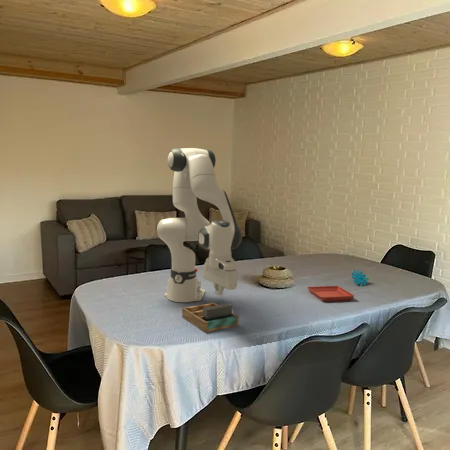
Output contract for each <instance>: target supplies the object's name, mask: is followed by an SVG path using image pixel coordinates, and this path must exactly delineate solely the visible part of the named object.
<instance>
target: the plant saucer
mask: <svg viewBox="0 0 450 450" xmlns="http://www.w3.org/2000/svg"><path fill="white" fill-rule="evenodd" d="M306 288H307V291H308V292H309V293H310V294H311V295H313V296H314V297H316V298H317V299H319V300H320V301H321V302H325V303H326V302H344V301H351V300H352V299H353V298H354V297H355V295H354V294H353V293H351V292H349V291H348V290H346V289H344V288H343V287H341V286H339V285H321V286H306Z"/></svg>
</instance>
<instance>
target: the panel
mask: <svg viewBox="0 0 450 450" xmlns="http://www.w3.org/2000/svg"><path fill="white" fill-rule="evenodd" d="M232 313H233V305H232V304H231V303H225V304H217V306H211V307H205V308H203V320H205V321H211V320H217V319H222V318H227V317H232Z"/></svg>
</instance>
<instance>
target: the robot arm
mask: <svg viewBox="0 0 450 450" xmlns="http://www.w3.org/2000/svg"><path fill="white" fill-rule="evenodd" d="M167 165H168V166H167V167H169V169H170V170H171V171H172V172H173V173H174V174H173V180H172V205H173V206H174V208H176V209H178V210H179V211H181V212H184V215H185V216H184V217H168V218H163V219H160V221H159V222H158V223H157V227H156V234H157V236H158V238H159V239H160V240H161V241H163V242H164V243H165V244H166V246H167V247H168V249H169V251H170V256H171V269H170V278H169V279H167V286H166V292H165V293H164V294H163V296H164V297H166V298H167V300H169V301H171V302H175V303H192V302H199V301H202V299H203V297H204V295H205V293H206V291H205V289H203V288H201V286H202V285H201V280H199V278H198V277H197V273H198V267H196V253H195V252H194V251H193V250H192V249H190V248H189V247H186V246H185V245H184V242H194V241H195V242H198V244H199V246H200V247H201V248H202V249H205V250H209V253H208V257H207V258H206V259H205V262H204V265H203V271H202V274H203V279H205V280H207V281H209V282H211V283H213V288H214V294H215V295H217V296H219V297H221V296H223V292H224V289H225V290H228V291H230V290H231V291H232V290H236V289H237V287H238V279H239V278H238V275H239V274H238V271H237V270H238V269H239V264H238V263H237V262H236V261H235V260H234V257H232V250H236V249H237V248H238V247H239V246H240V244H241V243H242V241H243V234H242V230H241V229H240V227H239V224H238V223H237V220H236V217H235V215H234V211H233V207H232V205H231V202H230V199H229V197H228V195H227V192H226V191H225V190H224V189H222V187H221V186H220V185H219V183H218V181H217V177H216V173H215V166H216V155H215V152H213V151H212V150H209V149H206V148H204V149H203V148H196V147H188V148H187V147H186V148H180V147H176V148H175V147H174V148H172V149H171V150H170V151H169V152H168V154H167ZM197 199H199V200H202V201H204V202H207V203H210V204H211V205H214V206H215V207H217V208H218V210H219V212H220V215H221V218H222V219H216V220H213V221H211V222H210V221H209V220H208V219H207V218H205V217H204V216H203V214H202V213H201V211H200V209H199V206H198V200H197Z"/></svg>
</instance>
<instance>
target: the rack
mask: <svg viewBox="0 0 450 450" xmlns="http://www.w3.org/2000/svg"><path fill="white" fill-rule="evenodd" d="M217 305H218V304H217V303H215V302H211V303H206V304H205V303H204V304H199V305H191V306H188V307H187V306H186V307H182V311H181V315H182V316H181V317H182V318H183V319H184V320H186V321H187V322H188V323H190V324H192V325H194V326H195V327H196V329H197V328H198V329H199V330H201V331H202V332H204V333H210V332H214V331H218V330H223V329H229V328H233V327H238V326H239V318H240V317H239V315H237V314H235V313H234V312H232V317H227V318H222V319H217V320H211V321H205V320H203V308H205V307H211V306H217Z"/></svg>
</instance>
